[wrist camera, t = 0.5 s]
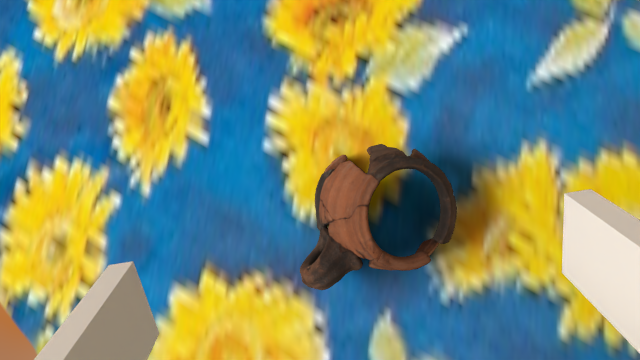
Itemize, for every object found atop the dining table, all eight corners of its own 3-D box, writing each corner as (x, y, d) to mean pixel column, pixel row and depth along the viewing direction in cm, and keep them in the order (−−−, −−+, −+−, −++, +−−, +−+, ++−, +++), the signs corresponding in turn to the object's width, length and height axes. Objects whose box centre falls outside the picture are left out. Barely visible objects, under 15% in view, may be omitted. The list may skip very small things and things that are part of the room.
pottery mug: (350, 122, 36) (399, 111, 28) (430, 195, 38) (495, 205, 30) (255, 243, 34) (278, 268, 26) (345, 311, 36) (391, 354, 28)
